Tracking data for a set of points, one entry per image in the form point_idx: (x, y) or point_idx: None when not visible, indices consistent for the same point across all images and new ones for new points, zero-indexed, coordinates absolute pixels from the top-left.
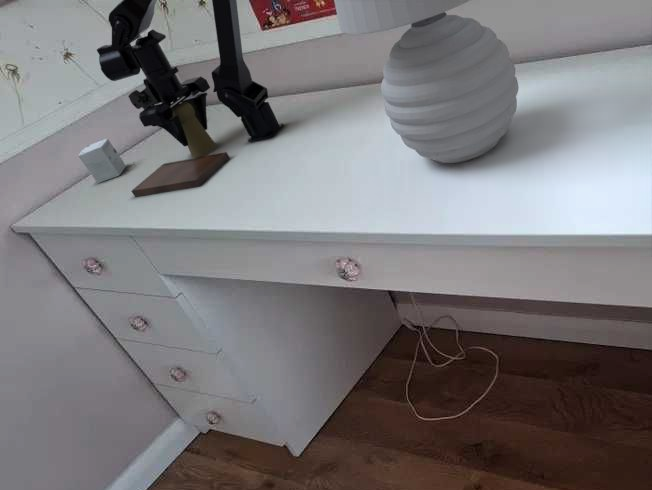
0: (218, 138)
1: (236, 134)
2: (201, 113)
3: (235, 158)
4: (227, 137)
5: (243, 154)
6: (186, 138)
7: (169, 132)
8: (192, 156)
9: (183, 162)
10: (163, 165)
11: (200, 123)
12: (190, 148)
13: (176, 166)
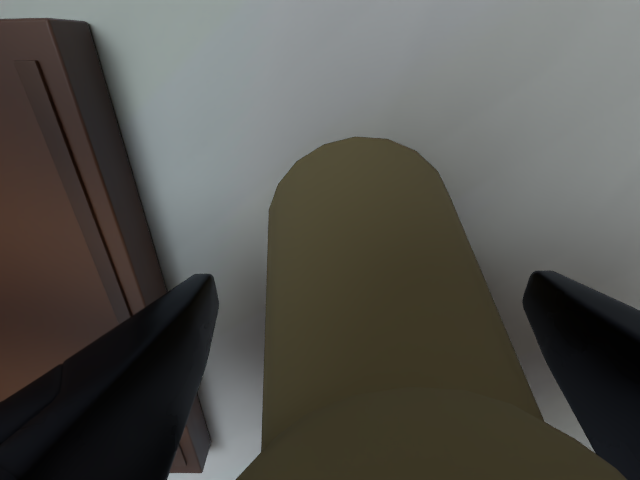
0: (561, 219)
1: (526, 337)
2: (628, 476)
3: (206, 460)
4: (520, 294)
5: (236, 473)
6: (200, 368)
7: (14, 408)
8: (281, 182)
9: (87, 283)
10: (11, 63)
11: (568, 328)
12: (268, 239)
13: (28, 259)
